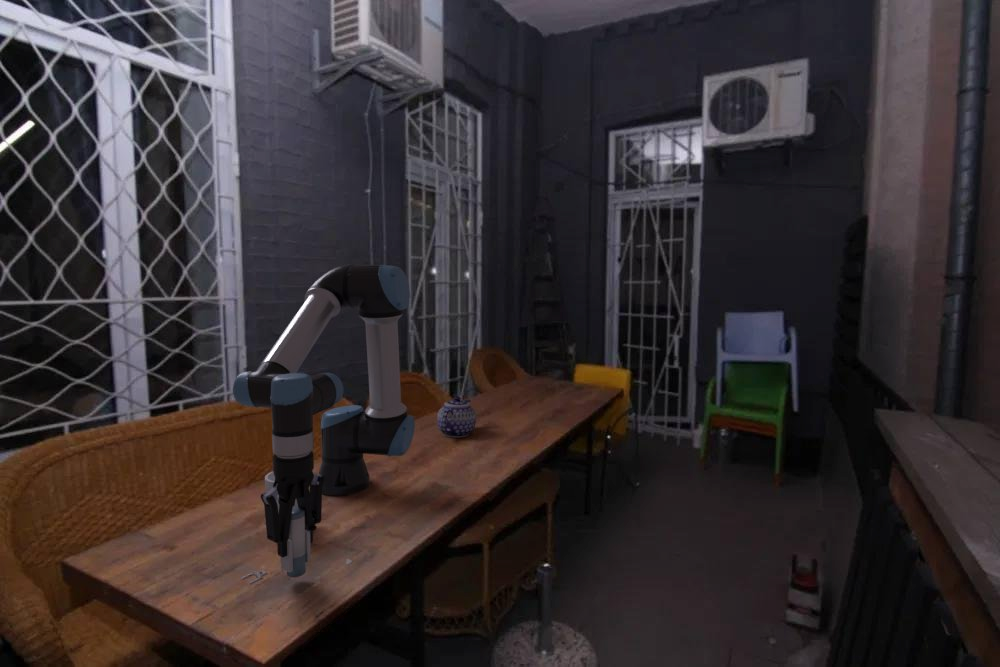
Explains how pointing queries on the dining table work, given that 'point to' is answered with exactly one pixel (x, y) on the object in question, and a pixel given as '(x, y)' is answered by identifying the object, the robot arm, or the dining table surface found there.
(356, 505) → the dining table surface
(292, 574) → the cylinder
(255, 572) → the small grey pieces
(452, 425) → the blue ceramic jar
